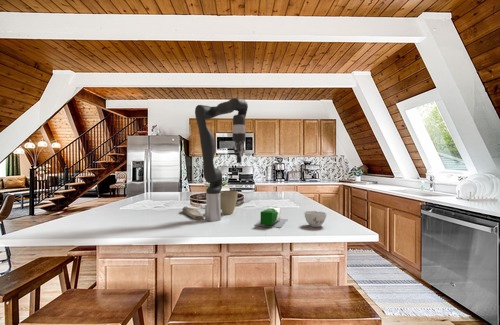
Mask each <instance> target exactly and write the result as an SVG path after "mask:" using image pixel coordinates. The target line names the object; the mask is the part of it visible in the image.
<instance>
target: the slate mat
mask: <svg viewBox="0 0 500 325" xmlns="http://www.w3.org/2000/svg"><path fill="white" fill-rule="evenodd" d="M260 221H261V219H260V220H258V221H257V222H256V223H255V224H254V226H255V227H266V228H276V229H277V228H278V229H279V228H280V229H281V228H282V227H283V226H284V225H285V223H286V222H288V219H287V218H280V220H279V221H277V222H275V223H273V225H264V224H260Z"/></svg>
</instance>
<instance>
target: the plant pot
mask: <svg viewBox="0 0 500 325" xmlns="http://www.w3.org/2000/svg"><path fill="white" fill-rule="evenodd" d="M238 194H239V191H237V190H221V213H222V214H223V215H232V214H234V210H235V208H236V206H237V201H238Z"/></svg>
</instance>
